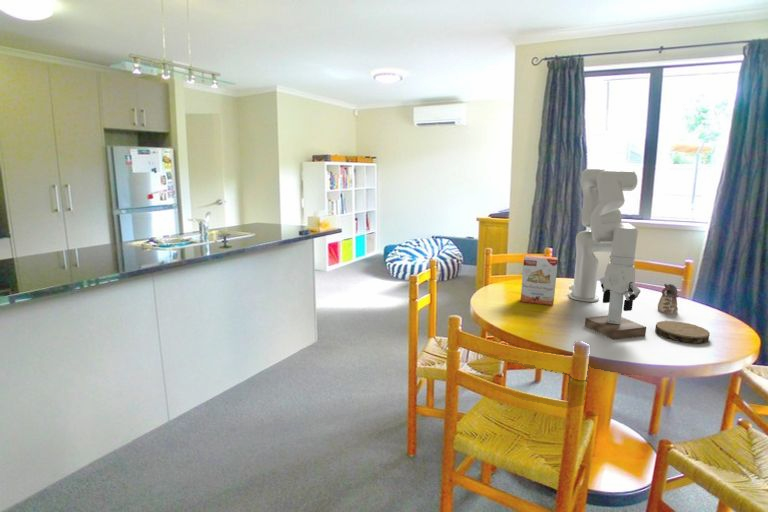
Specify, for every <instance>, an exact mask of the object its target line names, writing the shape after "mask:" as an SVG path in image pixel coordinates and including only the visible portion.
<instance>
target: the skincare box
mask: <svg viewBox="0 0 768 512" xmlns="http://www.w3.org/2000/svg"><path fill="white" fill-rule="evenodd" d="M610 292H611V293H610V302H609V306H608V314H607V315H608V323H613V324H620V322H621V317H622V313H623V307H624V297H625V296H624V294H620V293H616V292H615V291H610Z"/></svg>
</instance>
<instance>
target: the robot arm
mask: <svg viewBox="0 0 768 512" xmlns="http://www.w3.org/2000/svg"><path fill="white" fill-rule="evenodd" d="M637 185H638V175H637V174H636V171H634V170H633V169H631V168H630V169H629V168H627V167H588V168H586V169H584V170H583V171H582V172H581V175H580V186H581V190H582V195H583V201H582V210H581V224H582V226H583V227H585V228H590V230H582V231H579V232H578V233H577V234H576V236H575V248H576V249H575V250H576V251H575V252H576V255H575V257H576V258H575V265H574V266H575V268H574V276H573V278H574V279H573V284H572V285H571V286H569V287H568V290H571V292H570V293H569V294H568V297H569V298H570V299H572V300H575V301H579V302H584V303H594V302H598V301H599V300H600V297H599V296H598V295H596V294H597V285H598V284H597V283H598V274H599V265H600V263H599V260H598V258H597V256H596V255H595V254H594V253H610V255H609V259H610V260H609V262H607V265H606V268H605V272H604V277H602V278H601V277H600V278H599V282H600V287H601V289H602V290H601V291H602V293H603V294H602V303H603V304H608V303H609V302H610V293H611V291H615V292H616V293H620V294H624V296H623V297H624V298H625V299H623V307H622V311H624V312H630V311H633V306H634V304H633V303H634V301H635V300H636V299H637V298H638V297H639V295H640V293H641V289H640V288H638V286H637V285H636V267H635V260H636V259H635V257H636V252H637V251H636V249H637V241H638V234H639V231H638V228H637V227H636V226H633V225H632V224H630V223H626V222H624V223H623V222H622V213H621V209H620V208H621V207H622V206H624V204H625V197H624V192H632V191H634V190H635V189H636V188H637Z"/></svg>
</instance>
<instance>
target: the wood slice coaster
mask: <svg viewBox="0 0 768 512" xmlns="http://www.w3.org/2000/svg"><path fill="white" fill-rule="evenodd" d="M654 332H655V334H656V335H658V336H659V337H661V338H664V339H666V340H669V341H674V342H676V343H681V344H688V345H704V344H707V343H708V342H709V339H710V331H708V330H707V329H706V328H703V327H701V326H698V325H695V324H691V323H688V322H683V321H676V320H661V321H658V322H656V323H655V330H654Z"/></svg>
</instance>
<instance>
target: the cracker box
mask: <svg viewBox="0 0 768 512" xmlns="http://www.w3.org/2000/svg"><path fill="white" fill-rule="evenodd" d="M558 261H559V260H558V257H555V256H554V257H553V256H543V255H531V254H529V255H528V254H525V255H524V257H523V265H522V267H523V269H522V277H521V278H522V279H521V290H520V291H521V292H520V302H522V303H529V304H537V305H544V304H545V306H552V305H553V306H554V302H555V293H556V283H557V282H556V281H557V270H558Z"/></svg>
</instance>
